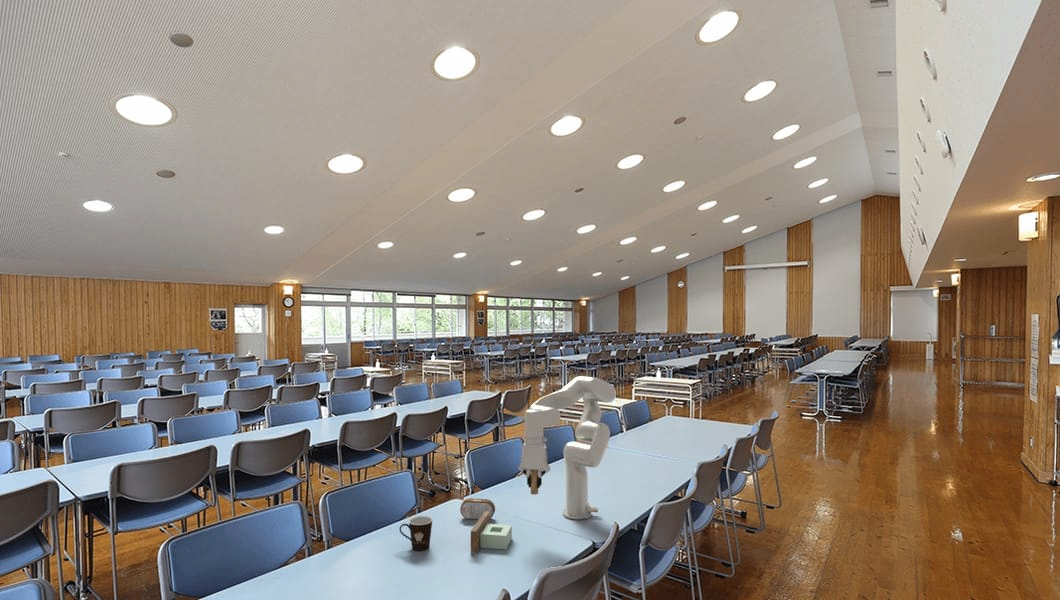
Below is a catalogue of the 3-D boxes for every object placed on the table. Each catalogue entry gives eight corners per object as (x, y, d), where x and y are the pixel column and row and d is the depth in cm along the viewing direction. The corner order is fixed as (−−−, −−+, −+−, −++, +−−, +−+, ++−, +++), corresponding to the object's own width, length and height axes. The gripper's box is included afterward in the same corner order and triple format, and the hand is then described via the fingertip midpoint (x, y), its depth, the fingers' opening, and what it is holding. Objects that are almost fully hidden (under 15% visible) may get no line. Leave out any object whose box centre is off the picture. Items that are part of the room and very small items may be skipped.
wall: (489, 531, 206) (489, 511, 206) (475, 553, 186) (475, 531, 186) (484, 531, 206) (484, 511, 206) (470, 553, 186) (470, 531, 187)
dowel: (538, 492, 204) (538, 467, 205) (537, 494, 202) (537, 469, 202) (531, 491, 205) (531, 466, 205) (530, 494, 202) (530, 468, 202)
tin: (495, 518, 220) (495, 498, 220) (494, 521, 217) (494, 501, 217) (461, 517, 221) (461, 497, 222) (459, 520, 218) (459, 500, 219)
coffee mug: (436, 544, 194) (437, 518, 194) (423, 554, 186) (423, 526, 186) (412, 539, 198) (412, 513, 199) (397, 548, 191) (398, 521, 191)
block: (511, 538, 199) (511, 525, 199) (506, 549, 189) (506, 535, 189) (487, 536, 201) (487, 523, 201) (480, 547, 191) (480, 534, 191)
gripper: (555, 439, 206) (555, 484, 206) (516, 437, 209) (516, 482, 208) (553, 443, 199) (553, 490, 198) (512, 442, 202) (512, 488, 201)
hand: (534, 486), depth 203 cm, fingers closed on dowel, 3 cm apart
